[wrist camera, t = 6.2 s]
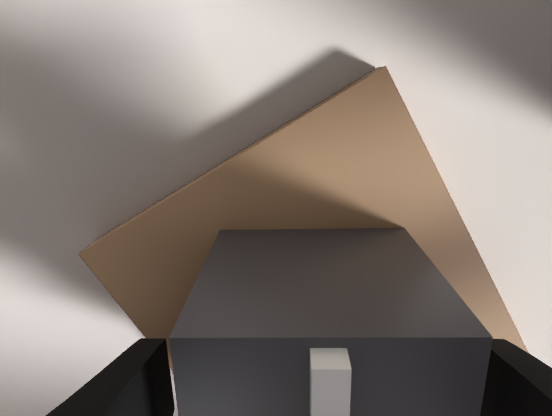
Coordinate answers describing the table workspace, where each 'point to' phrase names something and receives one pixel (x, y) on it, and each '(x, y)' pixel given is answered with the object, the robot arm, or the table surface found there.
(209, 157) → the table surface
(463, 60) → the table surface
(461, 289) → the block
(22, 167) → the table surface
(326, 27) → the table surface
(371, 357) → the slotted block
